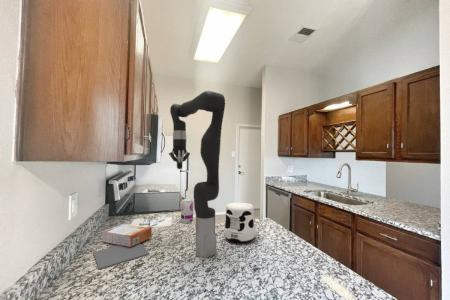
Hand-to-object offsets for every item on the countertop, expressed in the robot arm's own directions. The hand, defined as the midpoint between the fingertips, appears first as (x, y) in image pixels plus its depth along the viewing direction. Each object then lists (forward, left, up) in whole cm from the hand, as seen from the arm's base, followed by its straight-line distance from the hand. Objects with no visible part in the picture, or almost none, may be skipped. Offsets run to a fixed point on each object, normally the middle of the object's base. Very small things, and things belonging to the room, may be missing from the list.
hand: (179, 168), depth 118 cm
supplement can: (+18, -15, -38) cm, 45 cm away
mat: (-3, +31, -38) cm, 49 cm away
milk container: (-25, -24, -38) cm, 51 cm away
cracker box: (+1, +20, -34) cm, 40 cm away
